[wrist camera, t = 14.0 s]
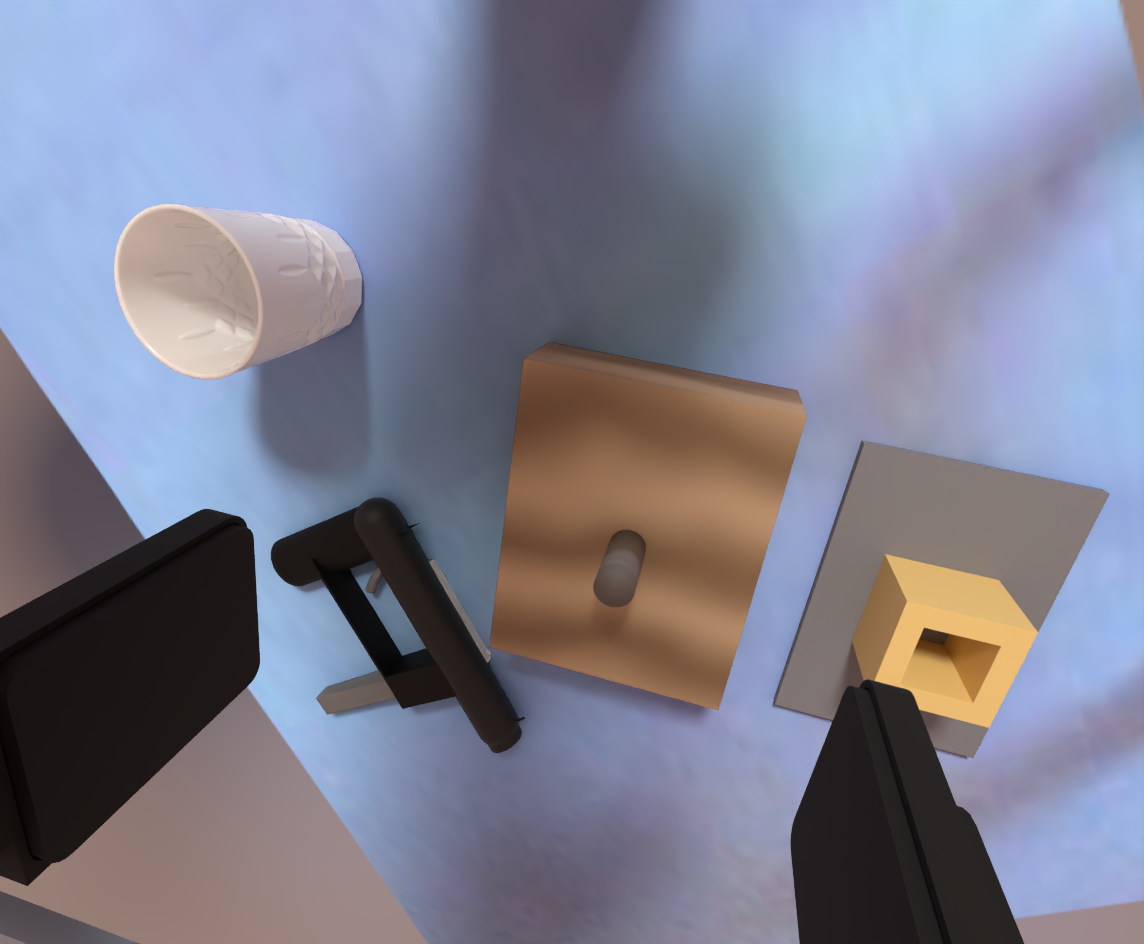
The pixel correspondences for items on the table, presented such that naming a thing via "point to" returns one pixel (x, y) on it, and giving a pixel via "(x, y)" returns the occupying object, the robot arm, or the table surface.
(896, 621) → the collar
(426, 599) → the door handle
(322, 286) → the white cup
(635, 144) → the table surface
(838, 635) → the mat
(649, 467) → the stand
